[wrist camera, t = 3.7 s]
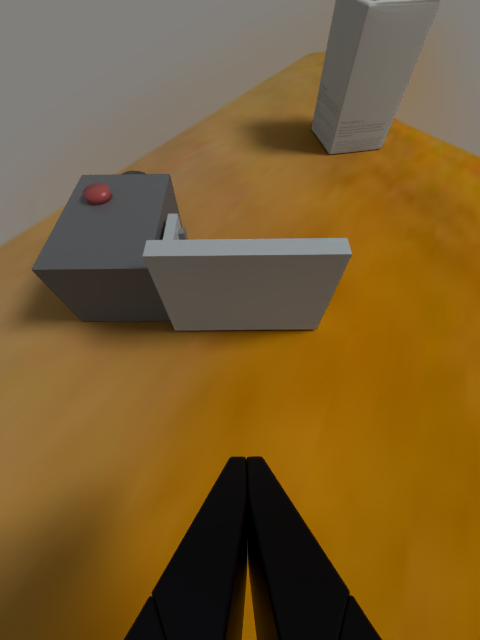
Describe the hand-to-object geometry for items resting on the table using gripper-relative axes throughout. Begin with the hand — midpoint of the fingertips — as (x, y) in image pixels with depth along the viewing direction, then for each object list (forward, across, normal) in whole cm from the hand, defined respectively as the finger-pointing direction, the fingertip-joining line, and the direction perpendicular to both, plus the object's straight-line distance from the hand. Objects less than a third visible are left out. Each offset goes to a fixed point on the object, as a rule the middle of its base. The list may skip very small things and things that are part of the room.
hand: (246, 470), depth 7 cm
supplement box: (+35, -14, -20) cm, 43 cm away
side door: (+16, 0, -2) cm, 16 cm away
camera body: (+19, +9, -5) cm, 22 cm away
